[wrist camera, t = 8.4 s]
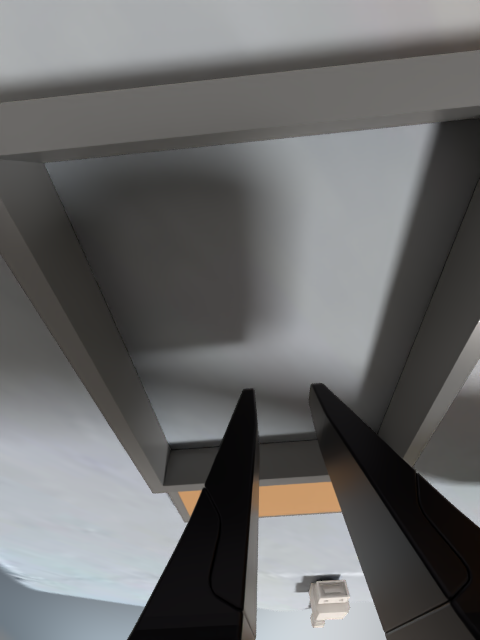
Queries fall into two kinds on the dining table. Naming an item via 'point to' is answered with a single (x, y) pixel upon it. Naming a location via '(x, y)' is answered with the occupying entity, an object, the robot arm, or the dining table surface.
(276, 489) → the lid
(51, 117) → the gray rectangular frame
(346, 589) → the charging cable
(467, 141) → the dining table surface
